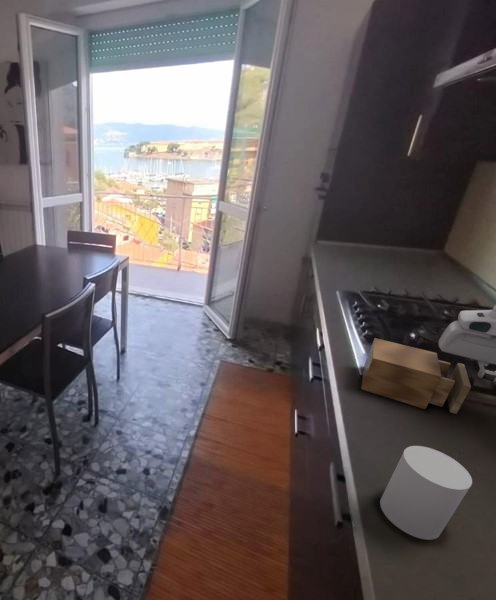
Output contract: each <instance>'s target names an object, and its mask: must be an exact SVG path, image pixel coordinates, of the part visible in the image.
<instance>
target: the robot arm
mask: <svg viewBox="0 0 496 600" xmlns="http://www.w3.org/2000/svg"><path fill="white" fill-rule="evenodd" d="M437 344H438V345H437V346H438V348H439V349H440V351H441V352H443V353H446V354H451V355H455V356H459V357H464V358H467V359H471V360H475V361H477V365H478V367H479V370H478V372H477V377H478V379H482V380H487V381H489V382H494V383H496V370H494V371H493V370H489V369H485V367H488V366H489V365H490V364H491V365H495V366H496V304H494V306H493V308H492V309H477V310H473V309H472V310H471V309H469V310H466V309H465V310H460V311H459V313H458V316H457V320H453V321H452V322H450V323H449V324H448V326H447V327H446V328H445V329H444V331H443V332H442V334H441V336H440V338H438V343H437Z"/></svg>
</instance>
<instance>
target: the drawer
mask: <svg viewBox="0 0 496 600" xmlns="http://www.w3.org/2000/svg"><path fill="white" fill-rule="evenodd" d="M438 362H439V367H440V372H441V379H440V381H439V383H438V385H437V387H436V389H435V391H434V393H433V395H432V397H431V399H430V401H429V403H428V404H431V405H434V406H438V407H441V408H442V407H443V406H444V405H445V402H447V405H448V410H449V413H452V414H455V415H457V414H458V412H459V411H460V408H461V407H462V405H463V403H464V401H465V400H466V398H467V396H468V395H469V392H470V390H471V388H472V385H471V382H470V379H469V376H468V372H467V369H466V366H465V364H464V363H461V362H457V363H456V365H455V367H454V369H453V370H452V373H451V375H450V377H449V378H448V377H446V375H447V373H448V371H449V369H450V367H451V365H452V363H451V362H448V361H444V360H440V359H438ZM446 400H447V401H446Z"/></svg>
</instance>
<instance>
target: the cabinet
mask: <svg viewBox="0 0 496 600" xmlns="http://www.w3.org/2000/svg"><path fill="white" fill-rule="evenodd" d="M438 360H439V357H438V353H437V352H434V351H429V350H426V349H422V348H418V347H414V346H409V345H406V344H401V343H397V342H393V341H389V340H386V339H385V340H384V339H381V338H378V337H377V338H376V337H374V338H373V341H372V344H371V346H370V350H369V352H368V355H367V357H366V359H365V363H364V366H363V372H362V382H361V388H360V389H361V390H363V391H366V392H368V393H372V394H375V395H379V396H382V397H385V398H388V399H392V400H395V401H397V402H401V403H404V404H407V405H410V406H414V407H417V408H420V409H422V410H423V409H424V410H426V409H427V407H428V405H429V404H430V403H429V401H430V399H431V397H432V395H433V393H434V391H435V389H436V387H437V385H438V383H439V381H440V379H441V372H440V367H439V362H438Z"/></svg>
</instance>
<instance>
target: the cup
mask: <svg viewBox="0 0 496 600" xmlns="http://www.w3.org/2000/svg"><path fill="white" fill-rule="evenodd" d="M472 485H473V478H472V476H471V474H470V473H469V471H468V470H467V469H466V468H465V467H464V466H463V465H462V464H460V463H459V461H458V460H455V459H454V458H453V457H451V456H449V455H447V454H446V453H444V452H441V451H439V450H437V449H435V448H432V447H427V446H422V445H409V446H407V447H406V448H405V449H404V450H403V452H402V454H401V457H400V459H399V461H398V462H397V465H396V467H395V469H394V470H393V473H392V475H391V477H390V479H389V481H388V483H387V485H386V487H385V489H384V492H383V493H382V495H381V497H380V501H379V505H380V508H381V511H382V513H383V514H384V516H385V517H386V518H387V519H388V521H389V522H391V523H392V524H393V525H394V526H395V527H397V528H398V529H399V530H401V531H403V532H404V533H406V534H408V535H409V536H412V537H414V538H416V539H420V540H427V541H432V540H436V539H438V538H439V537H440V536H441V534H442V533H443V531H444V529H445V527H446V526H447V525H448V523H449V521H450V520H451V518H452V516H453V515H454V513H455V512H456V510H457V509H458V507H459V506H460V504H461V503H462V501H463V499H464V497H465V496H466V495H467V493H468V491H469V489H471V487H472Z"/></svg>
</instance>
